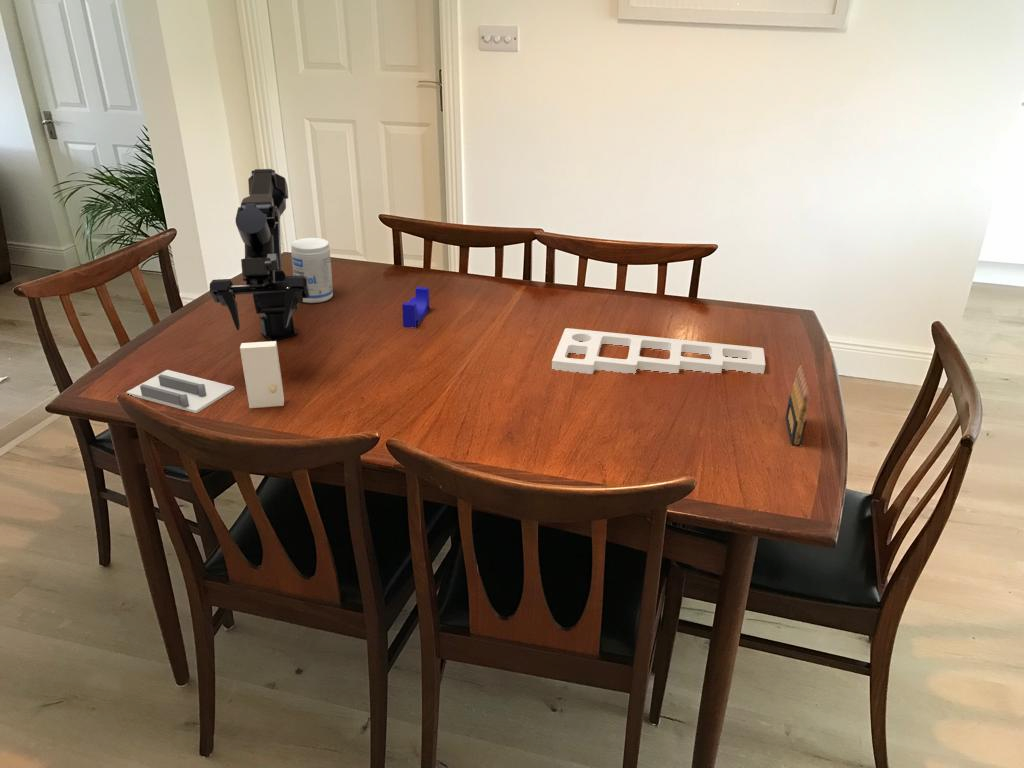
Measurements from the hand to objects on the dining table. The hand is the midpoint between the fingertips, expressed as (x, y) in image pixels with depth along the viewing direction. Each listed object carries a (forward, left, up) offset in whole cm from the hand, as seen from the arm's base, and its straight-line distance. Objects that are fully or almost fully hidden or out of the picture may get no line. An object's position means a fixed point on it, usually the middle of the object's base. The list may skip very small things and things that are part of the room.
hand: (261, 328), depth 162 cm
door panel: (+4, +7, -13) cm, 15 cm away
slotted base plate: (+15, -9, -13) cm, 22 cm away
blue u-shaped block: (-43, -13, -13) cm, 47 cm away
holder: (-73, +41, -14) cm, 85 cm away
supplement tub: (-29, -39, -13) cm, 51 cm away
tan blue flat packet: (-72, +76, -13) cm, 106 cm away
